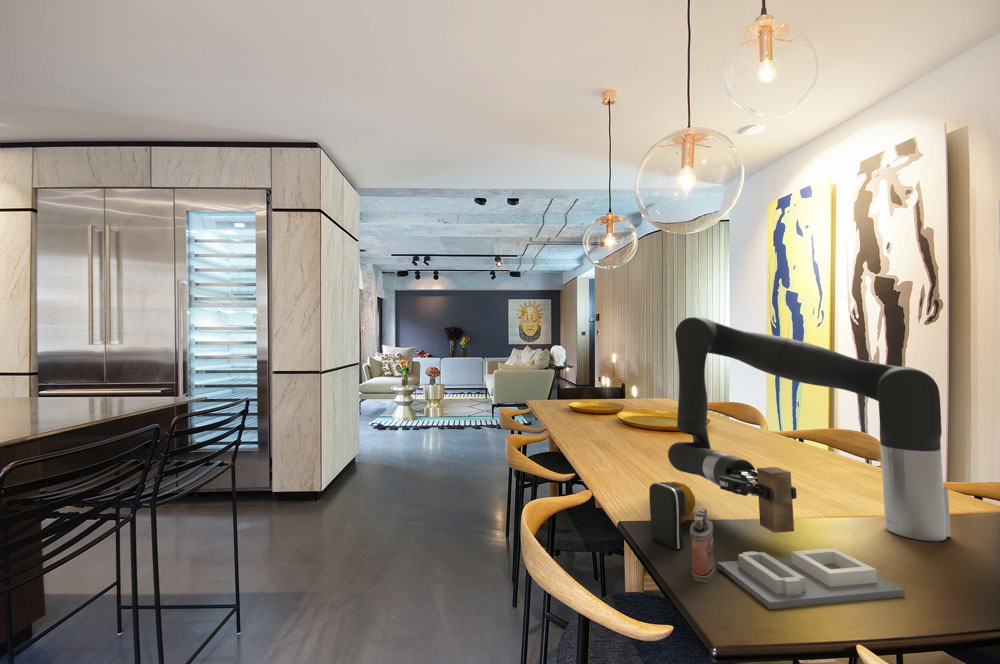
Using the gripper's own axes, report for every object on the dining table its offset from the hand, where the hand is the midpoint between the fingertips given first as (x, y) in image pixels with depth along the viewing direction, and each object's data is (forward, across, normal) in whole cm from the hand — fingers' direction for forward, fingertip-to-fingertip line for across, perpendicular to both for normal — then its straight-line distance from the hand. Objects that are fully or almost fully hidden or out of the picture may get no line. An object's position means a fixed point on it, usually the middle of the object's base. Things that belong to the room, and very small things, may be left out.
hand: (783, 494), depth 87 cm
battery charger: (-7, -19, +10) cm, 23 cm away
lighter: (+5, -19, +11) cm, 22 cm away
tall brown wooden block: (-2, 0, +7) cm, 7 cm away
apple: (-17, -13, +11) cm, 24 cm away
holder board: (+11, -5, +10) cm, 16 cm away
